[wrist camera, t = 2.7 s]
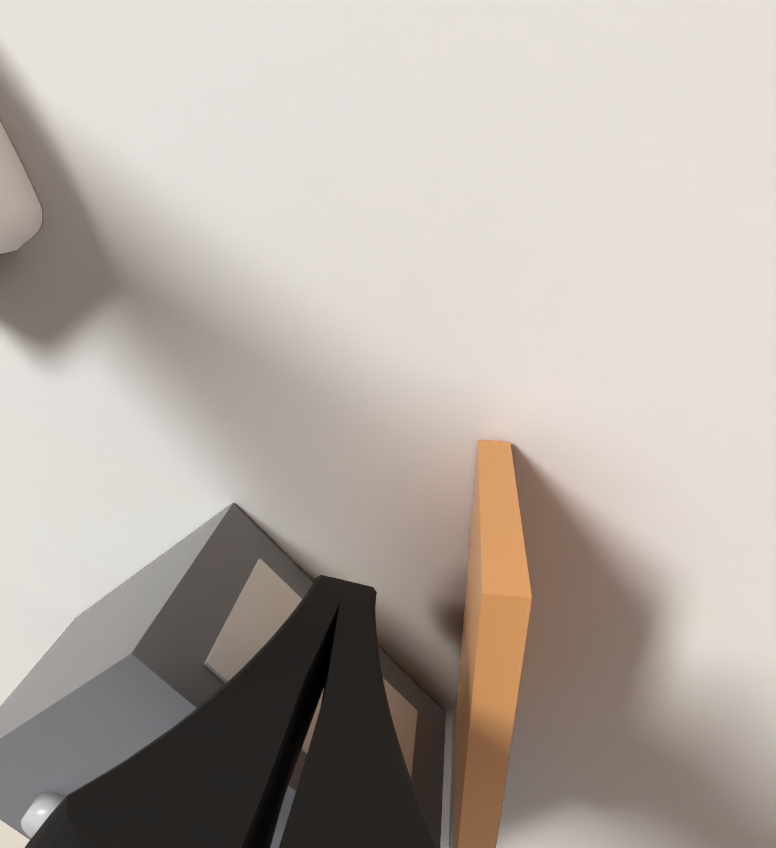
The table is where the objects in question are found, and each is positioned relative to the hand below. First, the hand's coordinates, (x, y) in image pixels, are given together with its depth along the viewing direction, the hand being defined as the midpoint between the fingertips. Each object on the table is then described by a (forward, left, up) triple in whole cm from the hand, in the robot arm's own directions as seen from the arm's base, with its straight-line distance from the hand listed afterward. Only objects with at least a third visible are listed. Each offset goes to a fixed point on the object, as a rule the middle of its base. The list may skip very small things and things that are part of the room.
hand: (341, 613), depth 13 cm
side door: (-4, -1, -3) cm, 5 cm away
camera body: (-2, +7, -3) cm, 8 cm away
